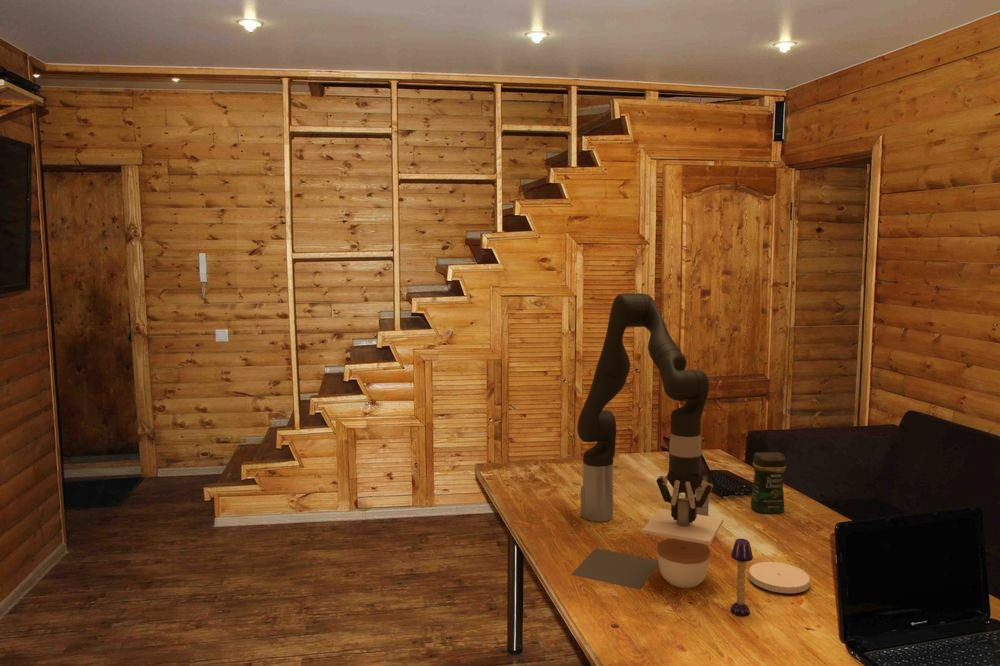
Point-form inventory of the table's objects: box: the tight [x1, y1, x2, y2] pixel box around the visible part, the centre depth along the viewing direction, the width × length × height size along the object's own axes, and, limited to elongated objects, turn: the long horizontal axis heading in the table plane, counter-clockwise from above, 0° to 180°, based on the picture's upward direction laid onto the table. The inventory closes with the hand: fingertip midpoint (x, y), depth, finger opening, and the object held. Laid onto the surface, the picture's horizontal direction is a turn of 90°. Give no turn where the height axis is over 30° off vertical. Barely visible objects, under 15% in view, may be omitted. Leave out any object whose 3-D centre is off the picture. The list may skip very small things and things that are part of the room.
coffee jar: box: [750, 451, 787, 514], centre depth 224 cm, size 10×8×19 cm
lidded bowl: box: [656, 538, 711, 589], centre depth 176 cm, size 13×13×11 cm
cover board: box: [641, 497, 724, 546], centre depth 174 cm, size 16×16×7 cm
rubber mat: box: [570, 547, 659, 590], centre depth 184 cm, size 18×18×1 cm
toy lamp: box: [730, 538, 754, 617], centre depth 162 cm, size 5×5×17 cm
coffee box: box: [684, 475, 710, 516], centre depth 206 cm, size 9×6×16 cm
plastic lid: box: [748, 561, 811, 594], centre depth 176 cm, size 14×14×2 cm
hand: (683, 520), depth 175 cm, fingers closed on cover board, 3 cm apart
